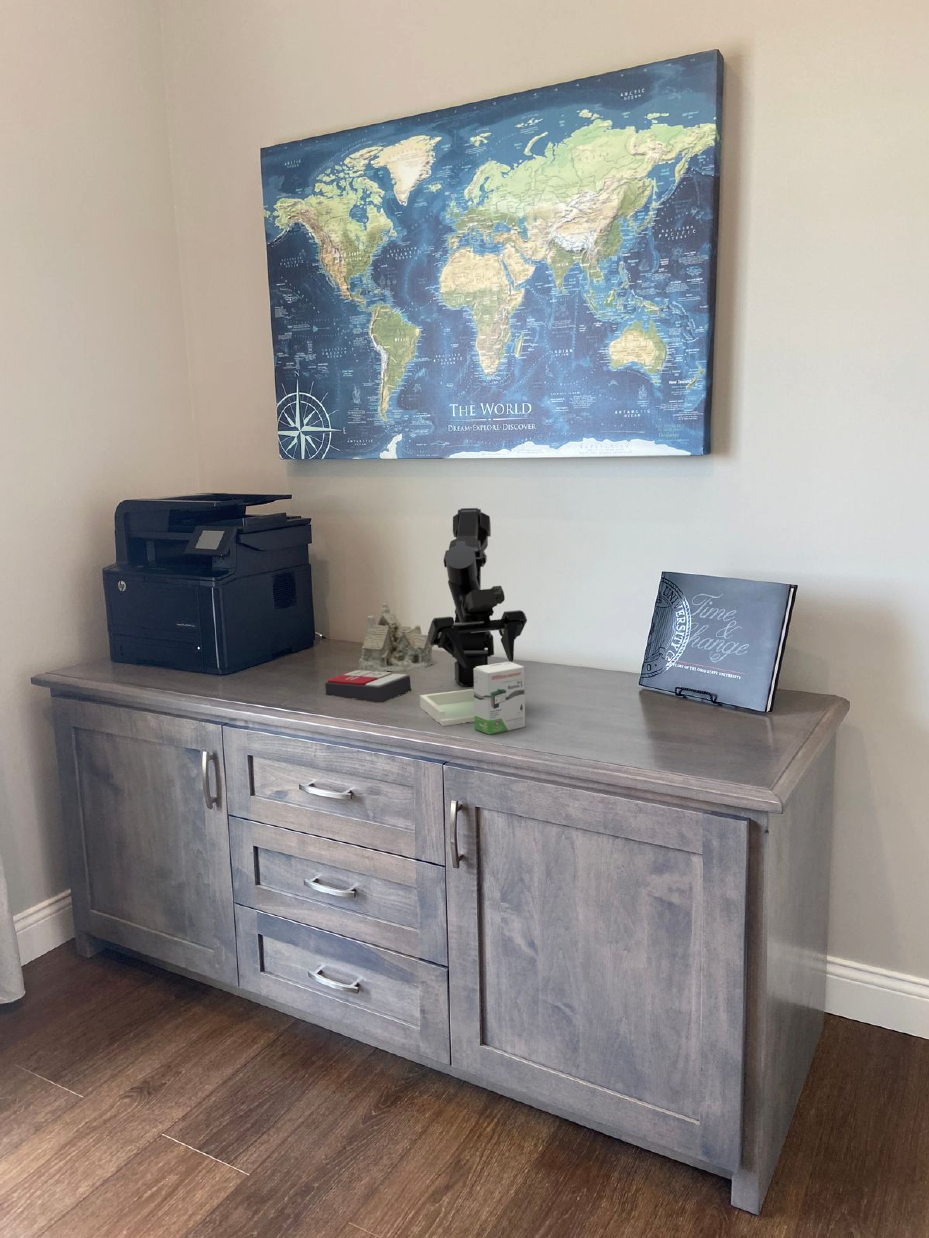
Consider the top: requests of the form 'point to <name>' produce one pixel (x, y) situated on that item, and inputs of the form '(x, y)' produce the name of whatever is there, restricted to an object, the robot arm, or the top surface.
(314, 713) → the top surface
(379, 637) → the ceramic cottage
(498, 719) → the ink box
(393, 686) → the calculator
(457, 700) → the bay
